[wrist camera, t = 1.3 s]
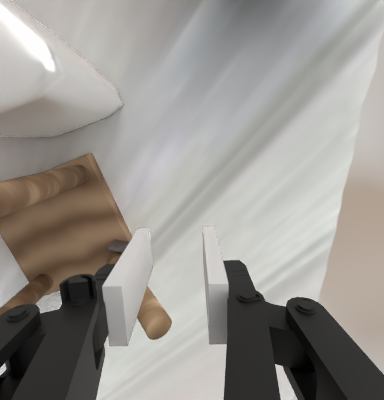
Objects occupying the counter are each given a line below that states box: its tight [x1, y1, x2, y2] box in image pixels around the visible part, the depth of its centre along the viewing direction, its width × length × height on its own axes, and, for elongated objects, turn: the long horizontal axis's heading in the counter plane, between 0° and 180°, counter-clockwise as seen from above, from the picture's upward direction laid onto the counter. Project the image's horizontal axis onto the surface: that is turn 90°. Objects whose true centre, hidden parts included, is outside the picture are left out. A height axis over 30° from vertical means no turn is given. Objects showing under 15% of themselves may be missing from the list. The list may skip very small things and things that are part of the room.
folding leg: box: [106, 252, 172, 340], centre depth 36 cm, size 3×3×16 cm
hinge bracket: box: [109, 239, 128, 253], centre depth 43 cm, size 2×5×3 cm, turn 167°
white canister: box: [0, 0, 124, 137], centre depth 30 cm, size 15×14×22 cm
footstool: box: [0, 154, 132, 315], centre depth 36 cm, size 20×20×21 cm
